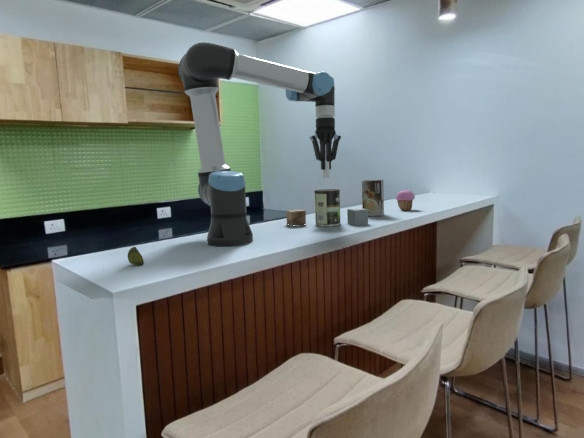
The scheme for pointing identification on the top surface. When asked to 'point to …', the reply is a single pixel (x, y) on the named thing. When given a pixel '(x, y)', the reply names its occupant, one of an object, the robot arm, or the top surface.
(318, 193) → the coffee can
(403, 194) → the cupcake
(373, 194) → the coffee box
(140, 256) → the lime
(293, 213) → the walnut block
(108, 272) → the top surface
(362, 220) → the slate block
